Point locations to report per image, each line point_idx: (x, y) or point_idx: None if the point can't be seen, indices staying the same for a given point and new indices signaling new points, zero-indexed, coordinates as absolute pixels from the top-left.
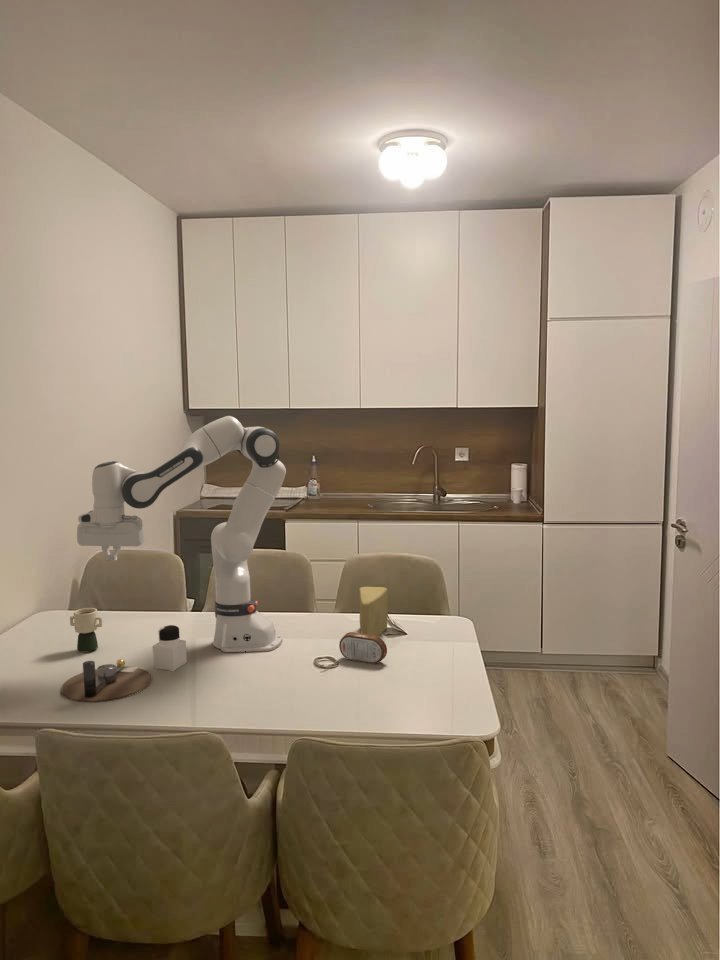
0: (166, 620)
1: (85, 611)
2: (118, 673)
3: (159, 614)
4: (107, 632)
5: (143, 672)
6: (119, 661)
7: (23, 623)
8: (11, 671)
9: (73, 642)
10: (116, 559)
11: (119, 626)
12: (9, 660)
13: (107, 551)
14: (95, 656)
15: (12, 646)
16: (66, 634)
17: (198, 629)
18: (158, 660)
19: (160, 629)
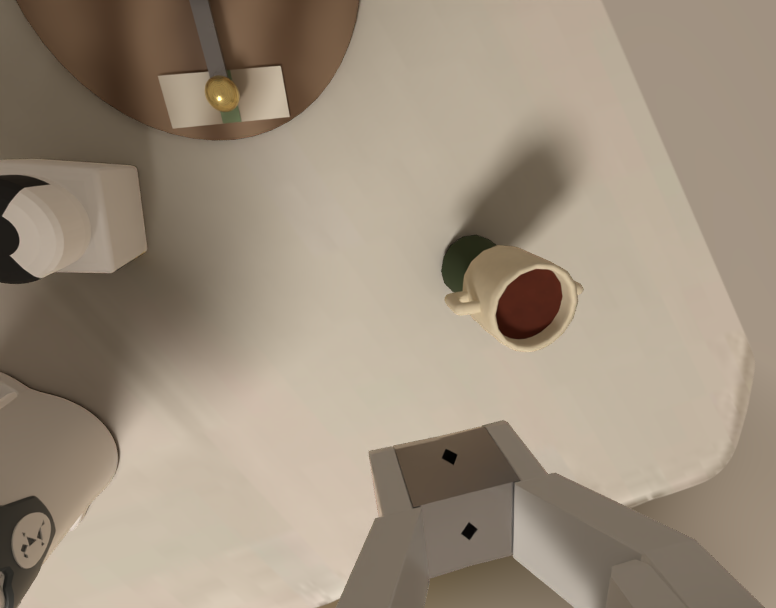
0: None
1: (544, 331)
2: None
3: None
4: (491, 403)
5: (119, 89)
6: (216, 79)
7: (730, 389)
8: (604, 31)
9: None
10: (374, 487)
11: None
12: (652, 126)
13: (568, 561)
14: (415, 223)
15: (691, 235)
16: (591, 357)
17: (245, 503)
18: (95, 164)
19: (22, 201)
